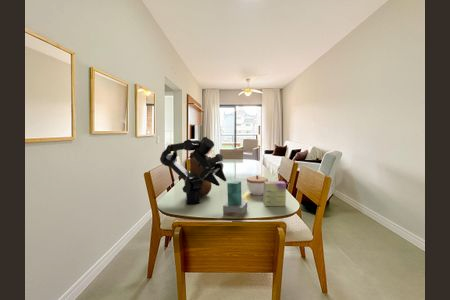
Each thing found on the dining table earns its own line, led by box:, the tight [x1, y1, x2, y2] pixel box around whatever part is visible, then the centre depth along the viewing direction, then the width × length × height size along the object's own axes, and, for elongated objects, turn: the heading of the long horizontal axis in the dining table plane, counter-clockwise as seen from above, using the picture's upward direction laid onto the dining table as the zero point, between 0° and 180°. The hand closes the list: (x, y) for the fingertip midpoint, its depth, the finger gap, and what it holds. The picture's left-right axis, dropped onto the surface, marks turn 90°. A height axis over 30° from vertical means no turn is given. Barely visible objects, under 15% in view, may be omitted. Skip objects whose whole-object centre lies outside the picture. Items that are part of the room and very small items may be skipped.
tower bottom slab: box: [222, 207, 248, 218], centre depth 109 cm, size 9×9×2 cm
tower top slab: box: [222, 200, 248, 213], centre depth 109 cm, size 9×9×2 cm
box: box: [262, 180, 287, 207], centre depth 120 cm, size 10×6×12 cm, turn 92°
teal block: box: [226, 180, 243, 205], centre depth 109 cm, size 5×5×10 cm
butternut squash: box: [189, 157, 212, 198], centre depth 135 cm, size 14×13×25 cm
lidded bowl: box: [246, 175, 269, 196], centre depth 140 cm, size 13×13×11 cm
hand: (222, 183), depth 115 cm, fingers open, 9 cm apart
